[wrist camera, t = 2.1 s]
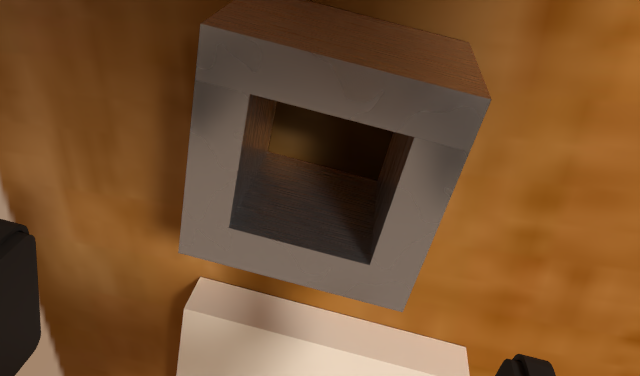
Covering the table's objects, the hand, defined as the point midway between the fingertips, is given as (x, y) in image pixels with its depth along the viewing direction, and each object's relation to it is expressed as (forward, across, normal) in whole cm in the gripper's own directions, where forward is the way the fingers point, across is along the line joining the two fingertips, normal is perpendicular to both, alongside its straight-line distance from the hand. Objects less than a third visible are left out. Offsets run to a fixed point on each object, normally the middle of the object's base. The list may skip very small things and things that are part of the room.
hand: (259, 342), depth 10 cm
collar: (+10, 0, -1) cm, 10 cm away
